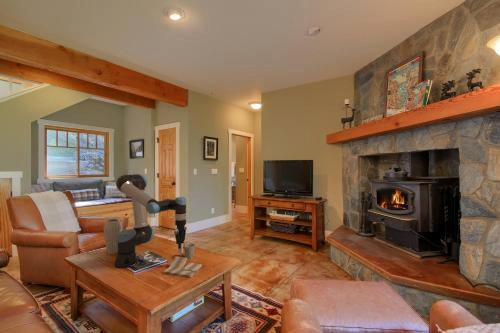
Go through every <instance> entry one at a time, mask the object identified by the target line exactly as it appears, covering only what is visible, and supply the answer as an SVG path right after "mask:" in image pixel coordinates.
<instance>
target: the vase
mask: <svg viewBox="0 0 500 333" xmlns="http://www.w3.org/2000/svg"><path fill="white" fill-rule="evenodd" d="M122 231H123V224H122V221H121V220H120V219H119V218H111V219H108V220H106V221H105V223H104V224H103V235H104V241H105V249H106V254H107V255H114V254H115V255H116V254H117V249H118V241H117V239H118V234H119V233H120V232H122Z"/></svg>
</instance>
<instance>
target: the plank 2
mask: <svg viewBox="0 0 500 333" xmlns="http://www.w3.org/2000/svg"><path fill="white" fill-rule="evenodd" d="M202 265H203V264H201V263H195V262H189V263H187V265H186V266H185V265H184V267H183V269H182V270H187V271H193V272H195V274H196V273H198V272H199V270H200V269H201V268H202Z"/></svg>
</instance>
